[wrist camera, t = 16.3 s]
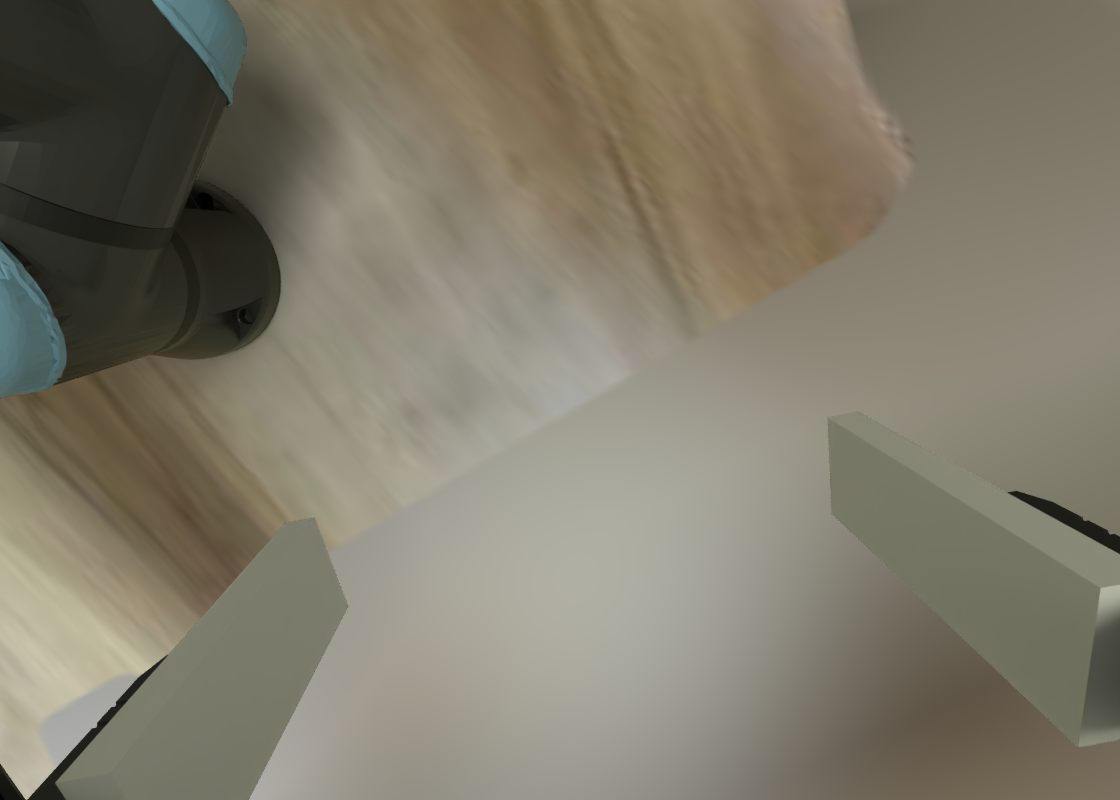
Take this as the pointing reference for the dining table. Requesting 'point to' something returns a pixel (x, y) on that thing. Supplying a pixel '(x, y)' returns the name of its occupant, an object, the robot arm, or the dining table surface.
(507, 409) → the dining table surface
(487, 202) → the dining table surface
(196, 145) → the robot arm
